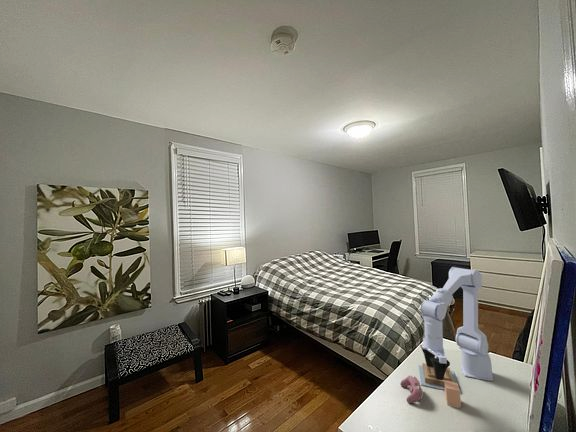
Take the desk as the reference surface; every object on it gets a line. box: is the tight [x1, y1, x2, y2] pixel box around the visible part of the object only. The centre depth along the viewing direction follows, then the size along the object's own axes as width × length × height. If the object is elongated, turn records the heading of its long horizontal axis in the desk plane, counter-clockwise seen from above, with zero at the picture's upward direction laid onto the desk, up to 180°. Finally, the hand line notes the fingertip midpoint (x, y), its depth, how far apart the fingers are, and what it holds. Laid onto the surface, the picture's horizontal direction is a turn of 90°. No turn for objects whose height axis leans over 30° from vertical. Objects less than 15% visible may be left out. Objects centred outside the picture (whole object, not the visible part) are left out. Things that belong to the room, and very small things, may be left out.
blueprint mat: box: [418, 364, 462, 395], centre depth 97 cm, size 13×13×1 cm
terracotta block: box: [444, 381, 462, 409], centre depth 85 cm, size 4×4×6 cm
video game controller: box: [399, 374, 424, 404], centre depth 89 cm, size 10×5×7 cm, turn 169°
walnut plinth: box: [421, 362, 454, 387], centre depth 97 cm, size 10×10×3 cm
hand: (434, 372), depth 86 cm, fingers open, 7 cm apart
